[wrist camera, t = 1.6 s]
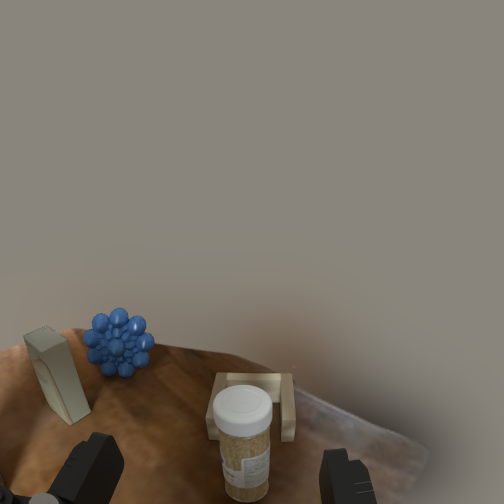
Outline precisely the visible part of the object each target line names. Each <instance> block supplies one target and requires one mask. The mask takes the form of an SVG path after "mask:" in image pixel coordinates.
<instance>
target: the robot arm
mask: <svg viewBox="0 0 504 504" xmlns="http://www.w3.org/2000/svg"><path fill="white" fill-rule="evenodd" d="M68 457H69V458H67V460H66V461H65V463H64V466H62V468H61V470H60V471H59V473H58V475H57V476H56V478H55V480H54V482H53V483H52V485H51V487H50V488H49V490H48V491H47V492H46V493H39V494H36V495H34V496H33V497H25V496H19V495H14V494H13V493H12V492H11V491H10V490H9V489H8V488H7V487H5V484H4V480H3V478H2V476H1V474H0V504H109V502H110V500H111V498H112V495H113V493H114V491H115V488H116V486H117V484H118V481H119V479H120V477H121V474H122V472H123V469H124V459H123V456H122V454H121V452H120V450H119V448H118V446H117V444H116V441H115V439H114V437H113V436H111V435H107V434H103V433H98V432H94V433H92V434H91V436H90V438H89V439H88V441H87V442H86V441H82V442H81V443H79V444H78V445H77V446H75V447H74V448H73V450H72V452H71V453H70V455H69V456H68ZM319 485H320V493H321V501H322V504H377V502H376V498H375V494H374V492H373V487H372V483H371V480H370V476H369V472H368V469H367V468H366V467H365V465H364V464H363V463H362V462H361V461H360V460H353V461H349V459H348V455H347V451H346V449H345V448H340V449H331V450H325V451H324V454H323V459H322V464H321V468H320V473H319Z"/></svg>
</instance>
